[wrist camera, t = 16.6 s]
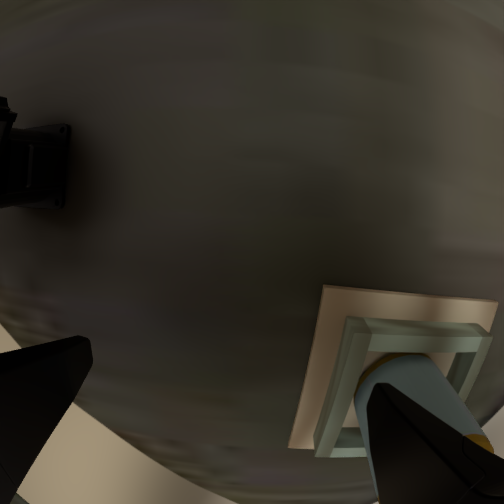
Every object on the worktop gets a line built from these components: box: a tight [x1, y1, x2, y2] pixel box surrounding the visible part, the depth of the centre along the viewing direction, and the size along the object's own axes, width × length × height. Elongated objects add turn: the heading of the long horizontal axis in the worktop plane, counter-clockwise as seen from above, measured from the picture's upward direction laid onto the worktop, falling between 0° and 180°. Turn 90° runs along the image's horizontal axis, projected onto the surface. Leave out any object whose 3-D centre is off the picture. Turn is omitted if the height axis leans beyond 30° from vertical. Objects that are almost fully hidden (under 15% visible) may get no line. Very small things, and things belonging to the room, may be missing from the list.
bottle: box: [353, 352, 494, 504], centre depth 13 cm, size 7×7×15 cm
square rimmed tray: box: [288, 284, 499, 457], centre depth 20 cm, size 15×15×3 cm
